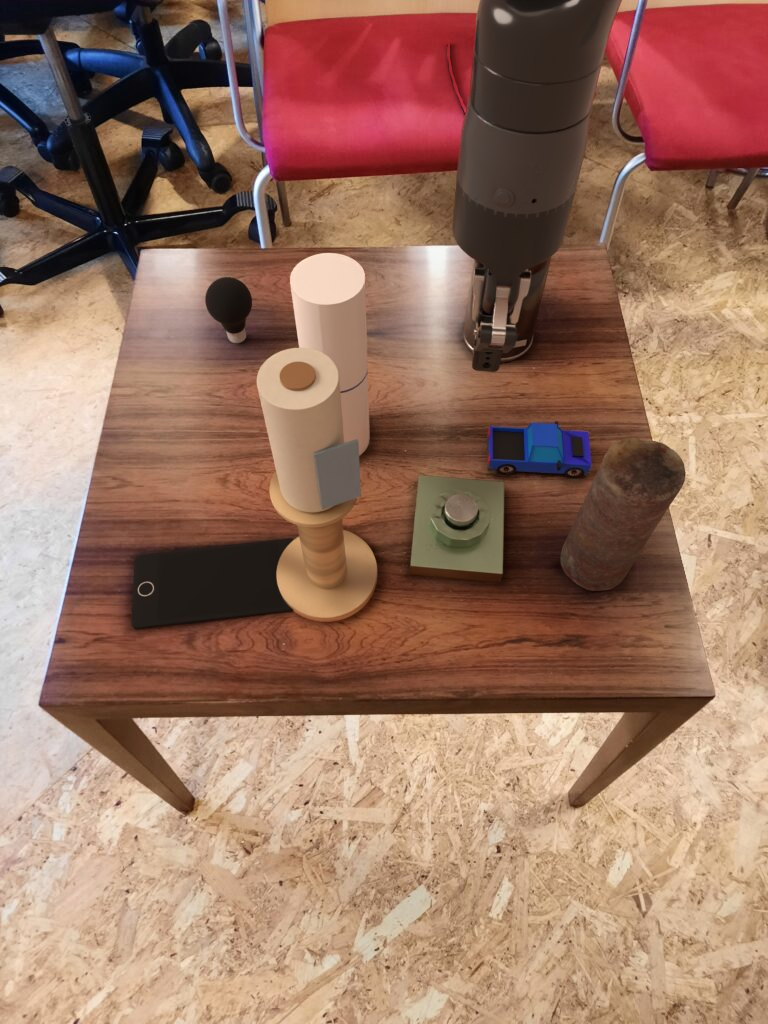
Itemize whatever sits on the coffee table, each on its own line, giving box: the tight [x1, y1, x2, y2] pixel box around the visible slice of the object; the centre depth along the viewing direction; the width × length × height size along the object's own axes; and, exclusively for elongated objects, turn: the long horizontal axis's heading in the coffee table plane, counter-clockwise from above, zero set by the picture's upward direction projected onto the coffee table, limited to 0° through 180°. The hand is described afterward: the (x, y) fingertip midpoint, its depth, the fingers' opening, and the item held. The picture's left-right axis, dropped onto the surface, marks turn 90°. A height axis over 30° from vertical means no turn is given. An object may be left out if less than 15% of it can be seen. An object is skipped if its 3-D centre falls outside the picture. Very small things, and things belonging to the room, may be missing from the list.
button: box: [444, 494, 478, 530], centre depth 80 cm, size 4×4×2 cm
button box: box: [409, 474, 505, 584], centre depth 82 cm, size 12×10×4 cm
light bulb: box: [204, 276, 253, 344], centre depth 95 cm, size 6×6×10 cm
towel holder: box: [268, 470, 378, 623], centre depth 73 cm, size 11×11×18 cm
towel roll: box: [256, 347, 362, 512], centre depth 59 cm, size 6×6×14 cm
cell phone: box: [130, 537, 296, 630], centre depth 81 cm, size 9×18×1 cm, turn 97°
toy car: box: [486, 421, 592, 480], centre depth 87 cm, size 7×12×5 cm, turn 86°
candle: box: [560, 436, 687, 592], centre depth 73 cm, size 8×7×20 cm
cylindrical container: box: [289, 252, 371, 457], centre depth 80 cm, size 7×7×25 cm
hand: (485, 364), depth 60 cm, fingers closed
